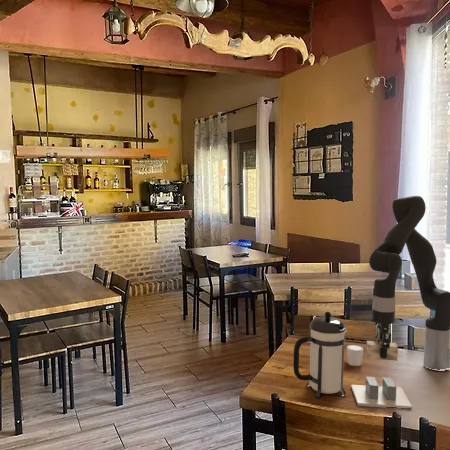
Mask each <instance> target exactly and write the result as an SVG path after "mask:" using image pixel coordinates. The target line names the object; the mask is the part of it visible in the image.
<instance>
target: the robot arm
mask: <svg viewBox="0 0 450 450" xmlns="http://www.w3.org/2000/svg"><path fill="white" fill-rule="evenodd" d="M426 209H427V207H426V202H425V200H424V198H423V197H422V196H420V195H410V196H409V195H408V196H402V197H399V198H397V197H396V198H395V199H394V200H393V201H392V212H393V216H394V218H395V220H396V224H395V225H394V226H392V228H391V229H390V230H389V231H388V232H387V234H386V236H385V238H384V240H383V242H382V243H381V244H380V245H379V246H378V247H376V249H374V251H372V253H371V255H370V257H369V261H368V264H369V267H370V269H371V270H372V271H374V272H381V273H387V274H388V276H387V277H378V278H376V279H375V280H374V283H373V298H372V310H371V320H372V321H373V322H374V324H375V325H374V326H375V327H374V329H375V331H374V332H375V336H374V337H375V340H376V342H380V357H381V358H387V348H389V347H390V343H391V339H392V333H391V328H390V327H389V325H392V324H394V323H395V318H396V317H395V316H396V284H397V279H398V277H399V274H400V271H401V269H402V267H403V266H402V265H403V259H402V257H401V255H400V254H401V253H402V252H403V250H404V247H405V245H406V249H407V253H408V255H409V258H410V261H411V264H412V267H413V269H414V272H415V276H416V279H417V283H418V287H419V288H418V289H419V292H420V293H419V294H420V297H421V301H422V304H423V305H424V306H425V307H426V308H427V309H429V310H431V311H434V317H428V318H426V320H425V326H424V346H423V360H422V361H423V365H424V366H426V367H428V368H431V369H437V370H440V369H446V368H450V291H448V290H444V289H442V288H441V289H440V288H438V287H437V286H436V285H437V284H436V283H435V280H434V271H435V269H436V266H437V256H436V254H435V250H434V247H433V245H432V243H431V242H430V241H429V240H428V239H427V238H426V237H425V236H423V235H422V234H421V233H420V232H418V230H416V228H417V226H418V225H419V223H420V221H421V220H422V219H423V217H425V213H426ZM384 343H386V345H385V344H384ZM424 366H423V367H424Z"/></svg>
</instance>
